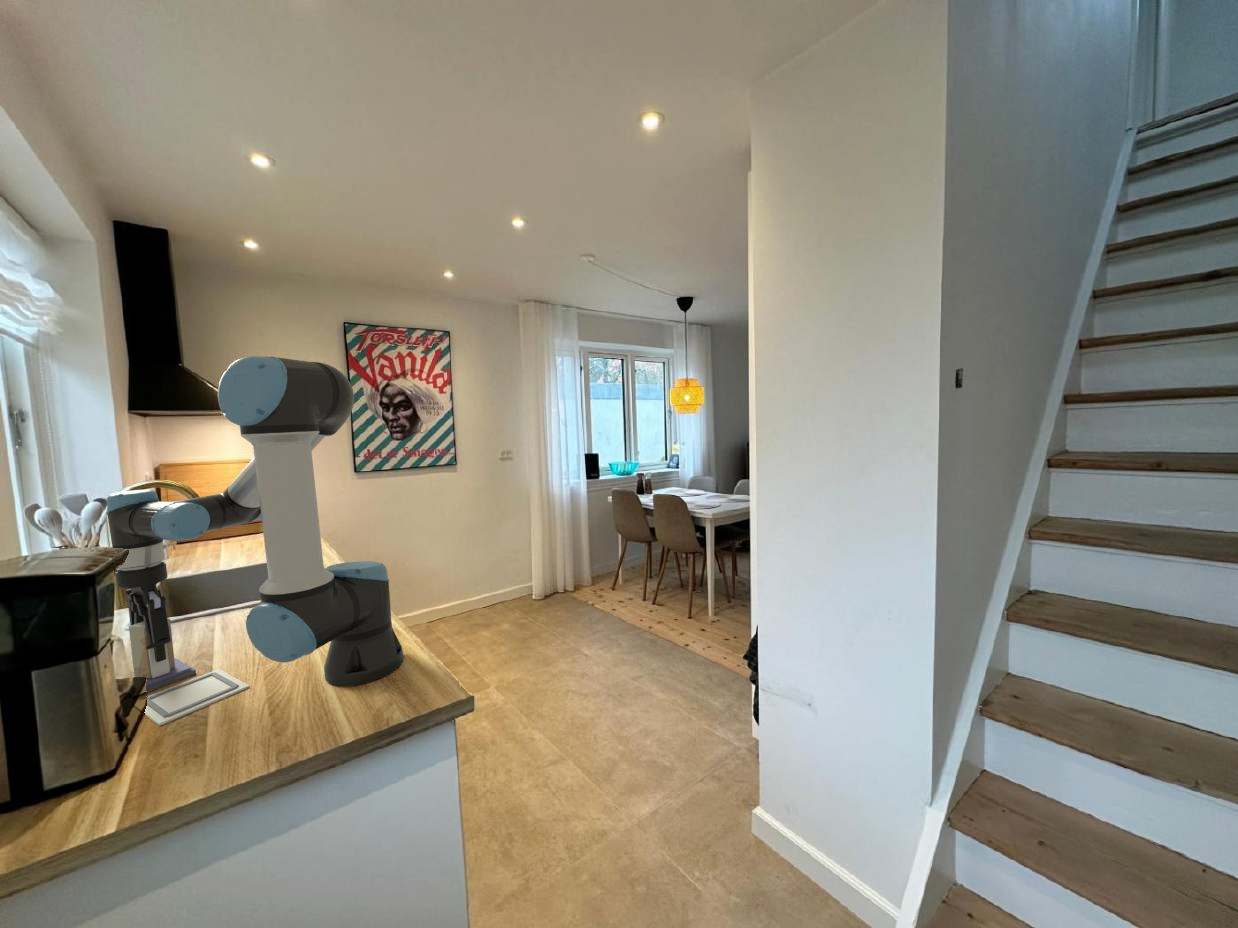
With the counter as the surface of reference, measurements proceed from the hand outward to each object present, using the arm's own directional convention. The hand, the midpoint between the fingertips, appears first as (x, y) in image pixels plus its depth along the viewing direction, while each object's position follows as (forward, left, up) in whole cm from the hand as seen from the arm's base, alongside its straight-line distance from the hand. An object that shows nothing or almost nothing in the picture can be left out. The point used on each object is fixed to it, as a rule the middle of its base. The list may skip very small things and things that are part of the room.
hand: (154, 670), depth 104 cm
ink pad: (0, 0, -2) cm, 2 cm away
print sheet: (-15, -1, -2) cm, 16 cm away
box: (0, 0, -1) cm, 1 cm away
